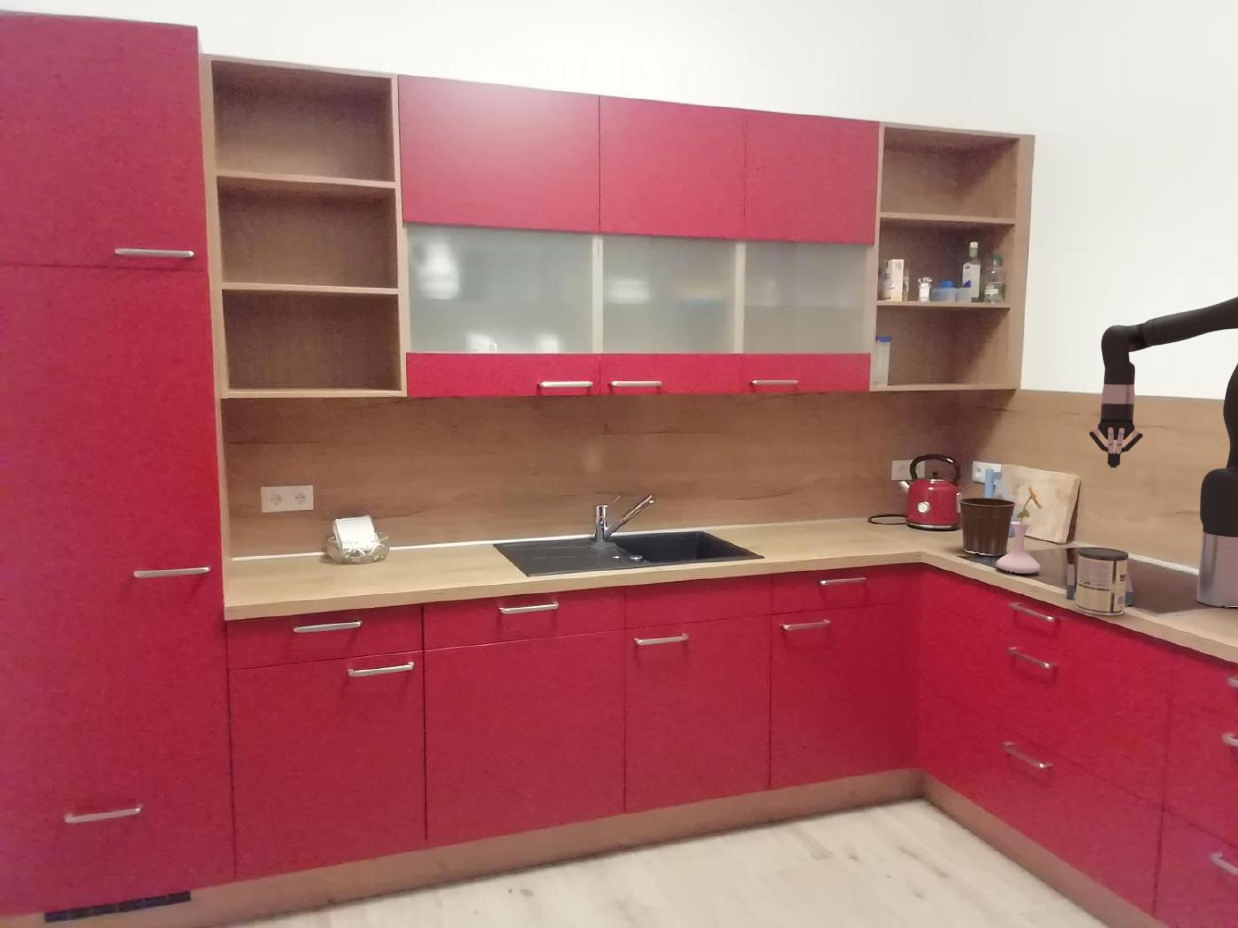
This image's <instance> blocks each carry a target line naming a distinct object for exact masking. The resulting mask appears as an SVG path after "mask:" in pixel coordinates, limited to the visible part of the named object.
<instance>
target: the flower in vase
mask: <svg viewBox="0 0 1238 928" xmlns="http://www.w3.org/2000/svg"><path fill="white" fill-rule="evenodd" d="M1026 486H1027V490H1028V493H1029V498H1028V499H1027V501H1026V502H1025V504H1024V506H1023V508H1022V511H1020V512H1019V513H1018V514H1016V518H1019V519H1020V521H1011V522H1010V525H1011V526H1012V527H1013V531H1014V536H1015V537H1014V538H1015V539H1014V547H1013V548H1012V550H1011V551H1009V552H1008V553H1006V554H1004V555H1003V556H1000V558H999V559H998V560H997V561H996V563H995V565H996V567H997V568H998V569H1000V570H1002V571H1004V570H1005V572H1008V571H1009V572H1008V573H1012V572H1014V573H1015V574H1022V575H1023V574H1024V575H1025V574H1034V573H1037V572H1039V571H1041V569H1042V568H1041V565H1040V563H1038V562H1037V560H1035V558H1033V557H1032V556H1031V555H1030V554H1029V553H1028V552H1027V550H1026V548H1025V535H1026V532H1027V530H1028V529H1029V527H1030V526H1031V523H1030V522H1029V523H1028V522H1025V521H1023V518H1029V517H1030V512H1029V510H1028V509H1026V507H1027V505H1028V503H1029V501H1031V499H1032V501H1033V503H1034V504H1035V506H1036V507H1037V508H1038V509H1039V510H1042V509H1043V506H1044V505H1043V503H1042V502H1041V497H1040V496H1039V495H1038V494H1037V490H1036V488H1034V486H1033V484H1032V483H1031V482H1030V483H1029V482H1027V485H1026ZM1014 573H1013V574H1014Z"/></svg>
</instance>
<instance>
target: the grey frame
mask: <svg viewBox="0 0 1238 928" xmlns="http://www.w3.org/2000/svg"><path fill="white" fill-rule="evenodd" d="M1067 565H1068V566H1067V580H1066V582H1067V583H1066V599H1067V600H1068V599H1069V600H1074V599H1075V585H1076V583H1075V578H1076V577H1075V575H1076V574H1075V564H1069V563H1068V564H1067ZM1134 592H1135V591H1134V589H1133V586H1132V582H1131V577H1130V574H1129V571H1128V569H1127V573H1126V587H1125V601H1124V605H1125V604H1130V605H1132V606H1134V605H1133V603H1134ZM1073 598H1074V599H1073Z"/></svg>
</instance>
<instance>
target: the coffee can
mask: <svg viewBox="0 0 1238 928" xmlns="http://www.w3.org/2000/svg"><path fill="white" fill-rule="evenodd" d="M1077 550H1078V551H1077V552H1078V559H1077V573H1076V574H1077V575H1076V590H1075V605H1074V608H1075V609H1076V610H1078V611H1080V612H1082V613H1083V612H1084V613H1087V614H1091V615H1097V616H1109V617H1112V616H1114V617H1116V616H1122V615H1121V612H1122V611H1123V609H1124V610H1125V602H1124V601H1125V587H1126V573H1127V570H1128V559H1129V553H1128V552H1126V551H1124V550H1120V549H1117V548H1116V549H1115V548H1109V547H1100V546H1099V547H1097V546H1095V547H1094V546H1085V547H1080V548H1078V549H1077Z"/></svg>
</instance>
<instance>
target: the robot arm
mask: <svg viewBox="0 0 1238 928" xmlns="http://www.w3.org/2000/svg"><path fill="white" fill-rule="evenodd" d="M1237 329H1238V296H1235V297H1232V298H1230V299H1228V300H1225V301H1221V302H1219V303H1215V304H1212V305H1208V306H1205V307H1200V308H1197V309H1192V310H1186V311H1182V312H1181V311H1180V312H1177V313H1171V314H1167V315H1162V316H1158V317H1155V318H1151V319H1148V320H1146V321H1145V322H1142V323H1137V324H1133V325H1123V324H1115V325H1111V326H1109V327H1107V329H1106V330H1105V331H1104V332H1103V334H1102V337H1101V342H1100V348H1101V356H1102V362H1103V365H1104V374H1103V386H1102V387H1103V388H1102V392H1101V399H1100V400H1101V402H1100V418H1099V423H1098V425H1097V427H1096V428H1095V429H1094V430H1090V431H1089V433H1088V435H1089V436H1090V438H1091V439H1092V441H1094V443H1095V444H1096V445H1097V446H1098V448H1099V449H1100V450H1101V451H1103V452H1106V453H1107V463H1106V464H1107V465H1108V466H1109V467H1110V468H1112V469H1113V468H1114V469H1116V468H1117V467H1119V466H1120V465H1121V454H1122V453H1125V452H1126V453H1128V452H1129V451H1130V450H1131V449H1132V448H1133V447H1134V446H1135V445H1136V444H1137V443H1138V442H1139V441H1140V440H1141V439H1142V438H1143V437H1144V434H1143V433H1142V432H1140V431H1138V430H1136V426H1135V423H1134V412H1135V411H1134V410H1135V400H1136V399H1135V396H1136V392H1135V380H1136V367H1135V364H1134V363H1132V362H1131V361H1130V353H1134V352H1137V351H1138V352H1139V351H1142V350H1145V349H1148V348H1152V347H1156V346H1163V345H1167V344H1172V343H1178V342H1182V341H1187V340H1189V339H1194V338H1196V337H1199V336H1202V335H1205V334H1210V333H1213V332H1219V331H1226V330H1237ZM1234 367H1235V368H1234V369H1233V372H1232V374H1231V376H1230V378H1229V380H1228V382H1227V386H1226V390H1225V395H1224V401H1223V408H1222V409H1223V410H1222V415H1223V421H1224V424H1225V428H1226V431H1227V434H1228V435H1227V436H1228V439H1229V452H1228V459H1227V463H1226V466H1225V467H1221V468H1214V469H1213V470H1210V471H1209V472H1208V473H1206V475H1205V476H1204V478H1203V480H1202V482H1201V487H1200V496H1199V497H1200V500H1199V501H1200V502H1199V503H1200V504H1199V518H1200V521H1201V525H1202V535H1201V544H1200V545H1201V546H1200V555H1199V557H1200V558H1199V567H1198V579H1197V590H1196V601H1198V602H1199V603H1201V604H1205V605H1207V606H1213V607H1219V608H1223V607H1222V606H1238V363H1236V366H1234ZM1100 433H1101V435H1102V436H1103V437H1104V438H1105V440H1107V445H1106V446H1105V445H1104V443H1103V442H1102V440H1101V439H1100V438H1099V437H1100ZM1130 435H1131V438H1132V439H1131V440H1130V441H1129V442H1127V444H1126V445H1125V446H1123V442H1124V441H1125V440H1127V439H1128V437H1130ZM1114 441H1116V442H1115V443H1116V444H1115V450H1114Z"/></svg>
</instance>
